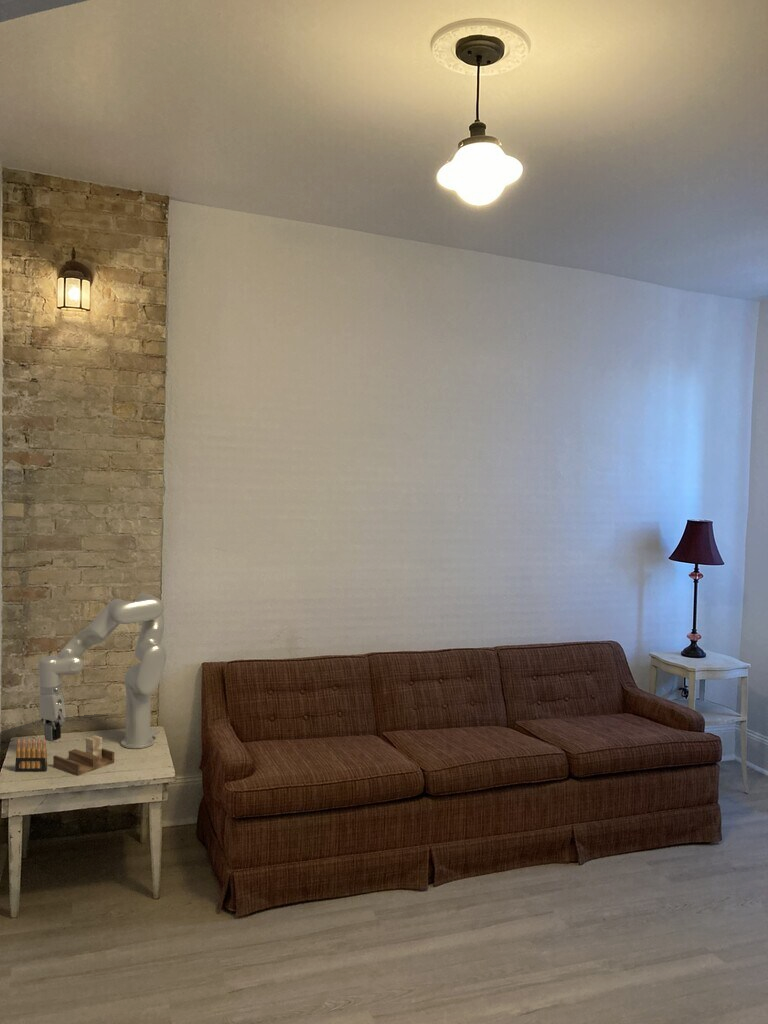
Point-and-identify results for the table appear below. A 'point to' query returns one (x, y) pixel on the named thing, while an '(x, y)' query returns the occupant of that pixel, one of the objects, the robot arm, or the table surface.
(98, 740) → the birch block
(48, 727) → the rubber block
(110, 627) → the robot arm
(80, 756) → the slot rack
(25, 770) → the ammunition clip
